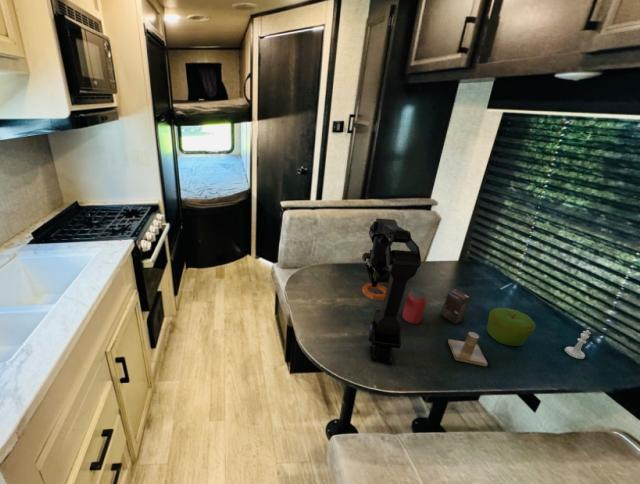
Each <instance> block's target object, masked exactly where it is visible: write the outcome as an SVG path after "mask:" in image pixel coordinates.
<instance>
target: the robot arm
mask: <svg viewBox="0 0 640 484" xmlns="http://www.w3.org/2000/svg"><path fill="white" fill-rule="evenodd" d="M368 236H369V238H370V241H371V242H372V248H371V249H369V252H364V253H363V254H362V256H361V259H362V261H363V262H367V264H365V265H364V266H365V268H366V272H367V276H368V279H369V283H372V287H376V285H377V284H379V283H383V284H385V283H386V284H387V286H386V288H387V291H386V295H385V299H384V300H383V302H382V307H381V309H376V310H375V311H374V316H373V319H372V320H371V321H370V324H369V330H368V331H369V332H368V333H369V334H368V335H369V336H368V341H369V343H371V345H370V347H369V349H370V350H369V351H370V361H372V362H376V363H381V364H385V365H390V366H392V365H393V359H392V353H393V352H392V351H393V349H399V350H400V348H401V347H402V340H401V339H402V337H401V336H402V335H401V333H402V332H401V325H400V322H399V319H398V314H399V310H400V307H401V305H402V304H401V303H402V300H403V296H404V293H405V289H406V286H407V282H408V281H409V280H410V279H412V278H413V277H415V276H416V275H417V272H418V270H419V268H420V267H421V265H422V257H421V251H420V247H419V246H418V244H417V243H416V242H415V241H414V239H412V234H411V231H410V230H407V229H404V228H402V227H401V226H399V225H398V222H397V220H396V219H392V218H379V217H377V218H376V219H375V220H373V223H372V224H371V226H370V227H369V231H368ZM393 243H397V244H405V246H406V247H407V249H408V250H401V249H392V245H393ZM387 269H388V270H387Z"/></svg>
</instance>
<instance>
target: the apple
mask: <svg viewBox="0 0 640 484" xmlns="http://www.w3.org/2000/svg"><path fill="white" fill-rule="evenodd" d="M487 320H488V321H487V327H486V331H487V332H486V333H488V334H489V336H491V337H492V338H493V339H494V340H495V341H496V342H498V343H500V344H503V345H505V346H510V347H511V346H512V347H520V346H523V345H524V343H525V342H526V341H527V339H528V338H529V337H530V336H531V335H532V334H533V332H534V331H535V330H536V328H537V327H536V322H534V320H533V319H532V318H531V317H530V316H529V315H527V314H526V313H524V312H521V311H519V310H516V309H512V308H508V307H498V308H494V309H492V310H490V311H489V314H488V319H487Z"/></svg>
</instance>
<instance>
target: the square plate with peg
mask: <svg viewBox="0 0 640 484" xmlns="http://www.w3.org/2000/svg"><path fill="white" fill-rule="evenodd" d="M479 339H480V335H479V334H478V333H477V332H475V331H468V333H467V335H466V338H465V340H464V341H462V340H456V339H451V338H449V339H448V340H447V342H448V345H449V348H450V350H451V353H452V356H453V358H454V361H458V362H464V363H467V364H473V365H476V366H477V365H478V366H483V367H487V366H488V362H487V360H486V358H485V356H484V354H483V352H482V350H481V348H480V345H479V344H478V341H479Z"/></svg>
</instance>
